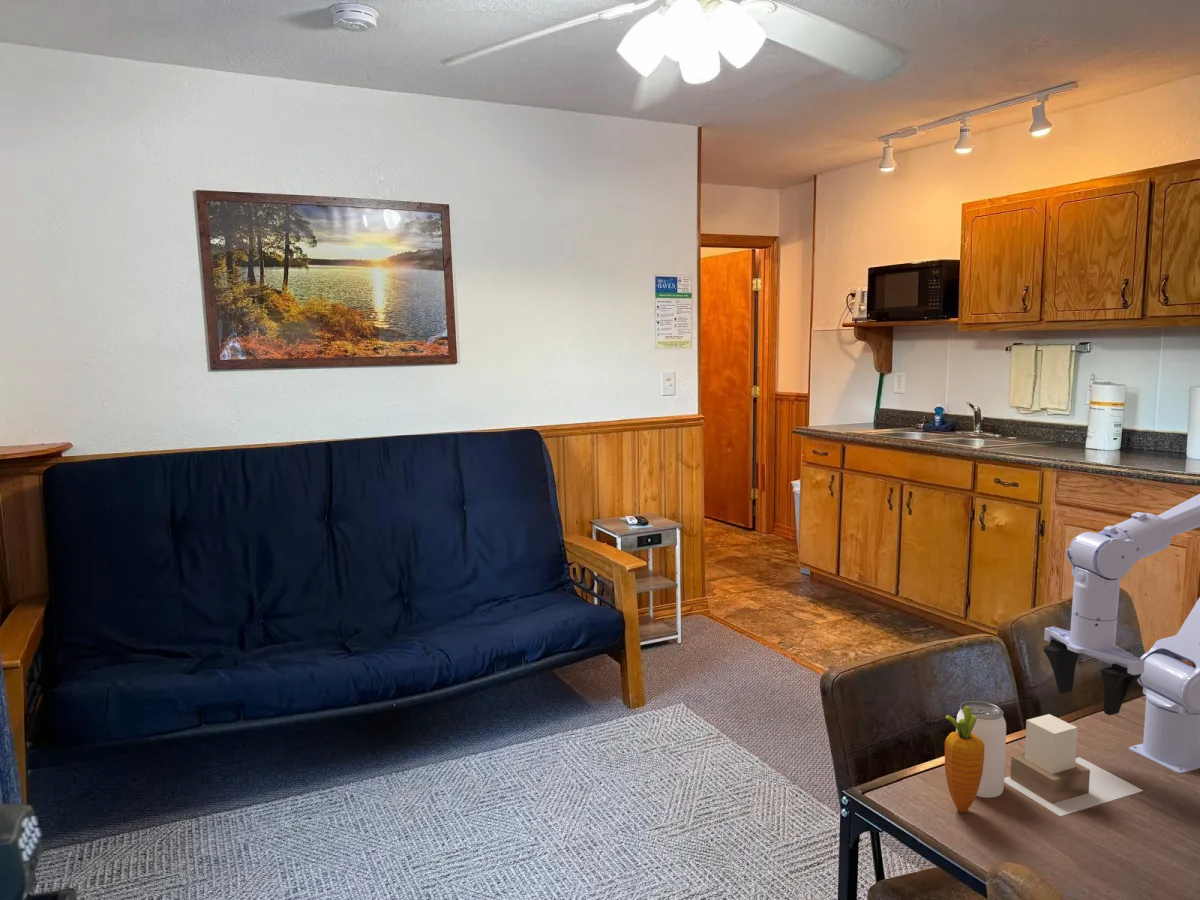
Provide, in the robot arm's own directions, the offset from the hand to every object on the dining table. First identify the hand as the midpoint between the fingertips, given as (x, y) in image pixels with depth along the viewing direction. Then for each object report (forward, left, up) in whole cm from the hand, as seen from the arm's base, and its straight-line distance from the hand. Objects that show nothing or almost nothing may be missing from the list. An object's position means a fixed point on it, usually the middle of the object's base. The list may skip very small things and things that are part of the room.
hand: (1087, 702), depth 119 cm
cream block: (+10, +2, -7) cm, 12 cm away
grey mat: (+7, +3, -10) cm, 13 cm away
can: (+19, -2, -11) cm, 21 cm away
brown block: (+10, +2, -10) cm, 14 cm away
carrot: (+26, +2, -11) cm, 28 cm away
